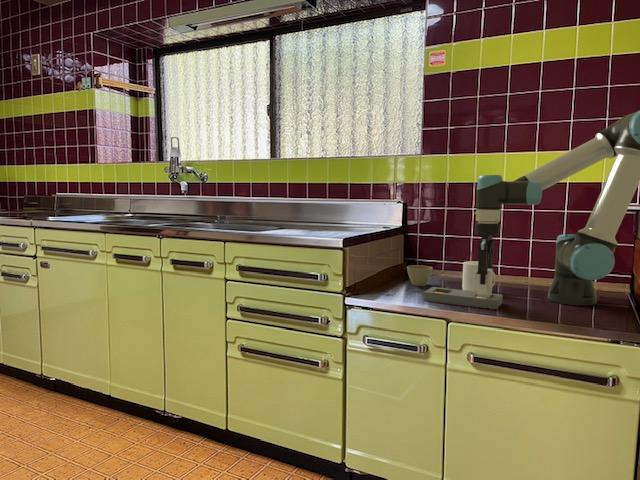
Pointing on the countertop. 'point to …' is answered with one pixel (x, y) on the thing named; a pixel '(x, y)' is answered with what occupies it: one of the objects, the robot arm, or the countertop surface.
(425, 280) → the flower pot
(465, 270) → the mug
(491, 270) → the plug
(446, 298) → the panel
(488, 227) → the robot arm
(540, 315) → the countertop surface
